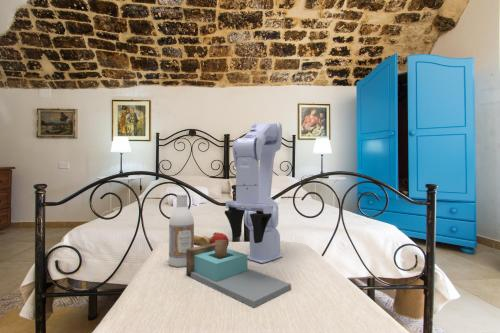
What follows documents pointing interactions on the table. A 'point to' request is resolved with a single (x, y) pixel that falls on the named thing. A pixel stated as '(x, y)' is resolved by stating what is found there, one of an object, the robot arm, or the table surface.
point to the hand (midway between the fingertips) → (247, 239)
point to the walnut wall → (196, 251)
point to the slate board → (246, 286)
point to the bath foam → (180, 232)
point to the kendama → (210, 239)
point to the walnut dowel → (220, 249)
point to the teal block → (220, 264)
